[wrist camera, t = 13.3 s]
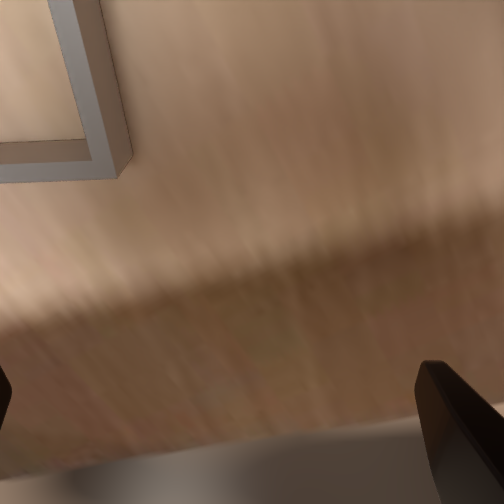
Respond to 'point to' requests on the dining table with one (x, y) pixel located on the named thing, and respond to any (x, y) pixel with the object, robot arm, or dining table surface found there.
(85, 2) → the open square frame
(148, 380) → the dining table surface
